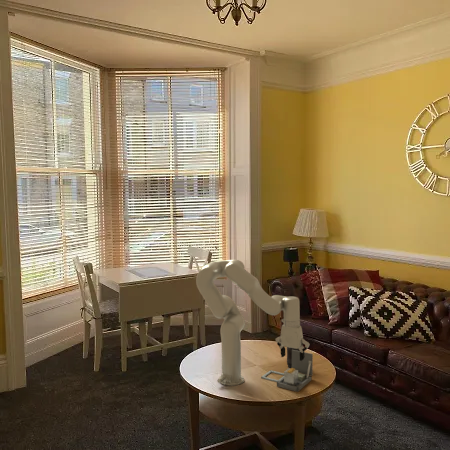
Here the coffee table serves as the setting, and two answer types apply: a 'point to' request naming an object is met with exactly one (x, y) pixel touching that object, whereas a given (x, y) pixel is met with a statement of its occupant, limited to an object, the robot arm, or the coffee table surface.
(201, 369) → the coffee table surface
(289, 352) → the camera lens
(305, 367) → the case
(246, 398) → the coffee table surface
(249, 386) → the coffee table surface
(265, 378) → the tray
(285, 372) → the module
